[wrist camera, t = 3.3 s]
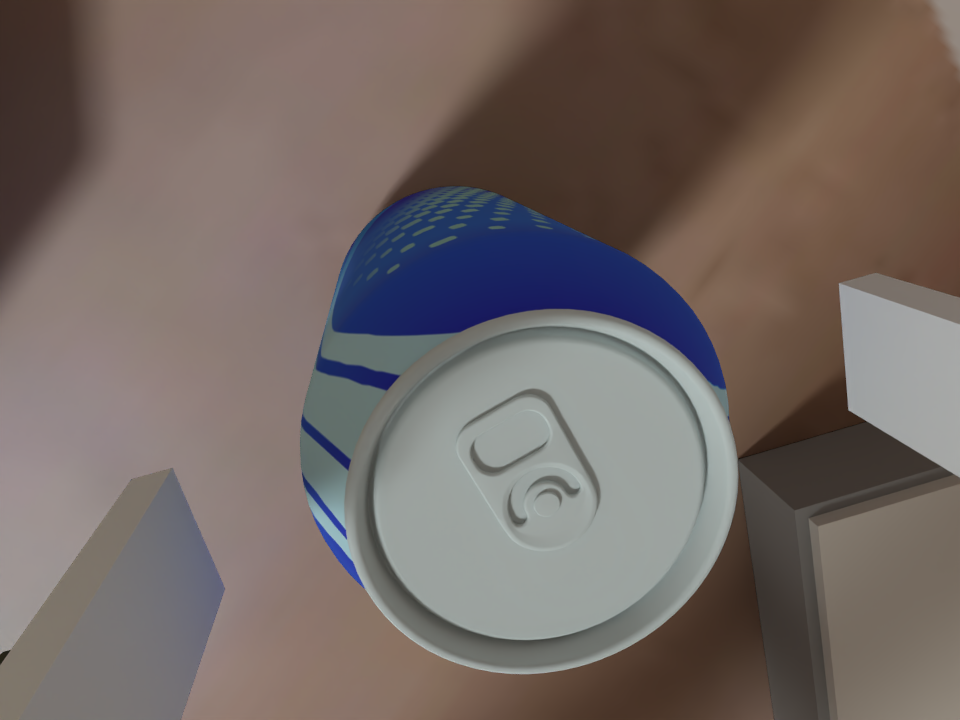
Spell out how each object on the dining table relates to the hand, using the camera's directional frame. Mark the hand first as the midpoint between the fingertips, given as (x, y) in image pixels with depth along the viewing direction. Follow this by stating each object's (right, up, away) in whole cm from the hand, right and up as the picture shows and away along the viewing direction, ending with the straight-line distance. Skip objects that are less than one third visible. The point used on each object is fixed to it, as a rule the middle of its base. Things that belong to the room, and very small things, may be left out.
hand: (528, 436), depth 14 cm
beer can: (-2, +4, +13) cm, 14 cm away
